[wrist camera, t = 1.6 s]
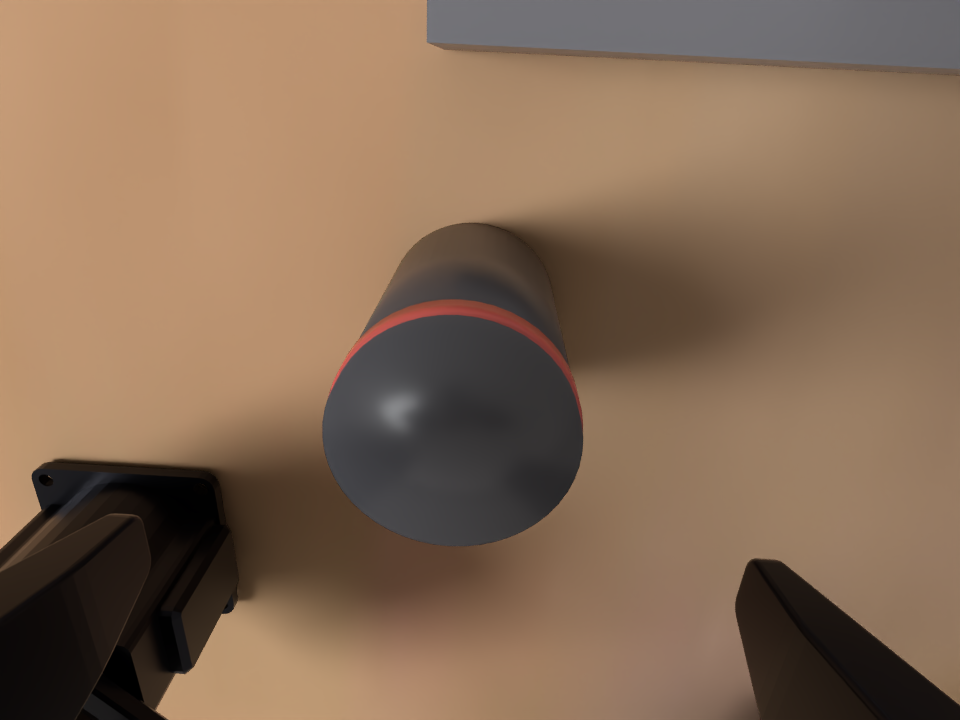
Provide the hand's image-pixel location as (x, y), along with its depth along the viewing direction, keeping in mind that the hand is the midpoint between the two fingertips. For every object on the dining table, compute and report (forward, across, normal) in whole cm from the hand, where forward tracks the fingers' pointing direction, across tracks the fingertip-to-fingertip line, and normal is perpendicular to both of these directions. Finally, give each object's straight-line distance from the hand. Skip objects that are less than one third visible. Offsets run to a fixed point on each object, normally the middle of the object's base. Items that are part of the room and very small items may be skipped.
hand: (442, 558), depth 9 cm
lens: (+11, 0, 0) cm, 11 cm away
